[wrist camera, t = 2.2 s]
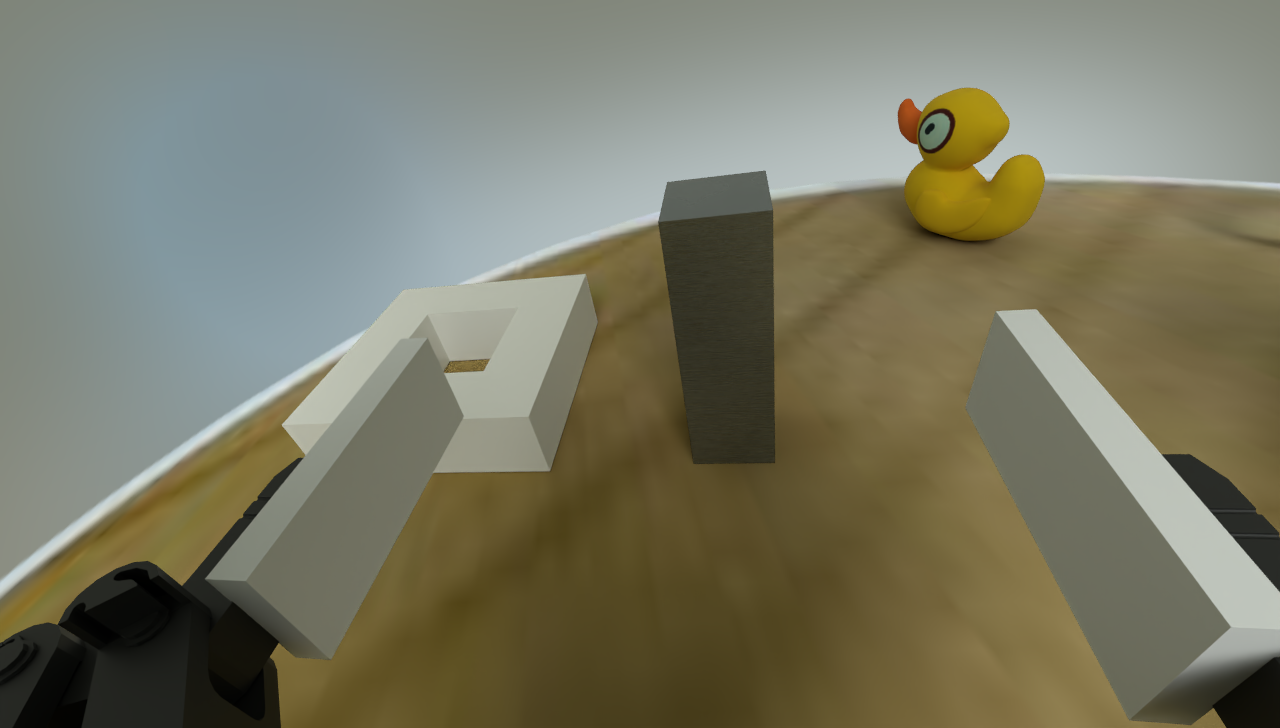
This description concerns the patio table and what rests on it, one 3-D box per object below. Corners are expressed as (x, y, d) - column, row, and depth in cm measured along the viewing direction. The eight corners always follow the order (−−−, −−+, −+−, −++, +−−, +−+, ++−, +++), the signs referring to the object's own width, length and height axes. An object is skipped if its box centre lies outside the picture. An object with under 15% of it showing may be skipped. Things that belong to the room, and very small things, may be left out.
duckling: (863, 221, 45) (876, 92, 39) (910, 201, 46) (930, 74, 40) (991, 268, 36) (1033, 112, 30) (1043, 242, 38) (1094, 89, 32)
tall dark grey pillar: (769, 407, 29) (765, 170, 21) (775, 462, 26) (772, 209, 18) (696, 409, 30) (667, 182, 22) (693, 463, 27) (658, 221, 19)
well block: (597, 322, 39) (585, 274, 36) (550, 471, 28) (528, 416, 26) (425, 333, 42) (403, 289, 39) (321, 474, 31) (281, 424, 28)
